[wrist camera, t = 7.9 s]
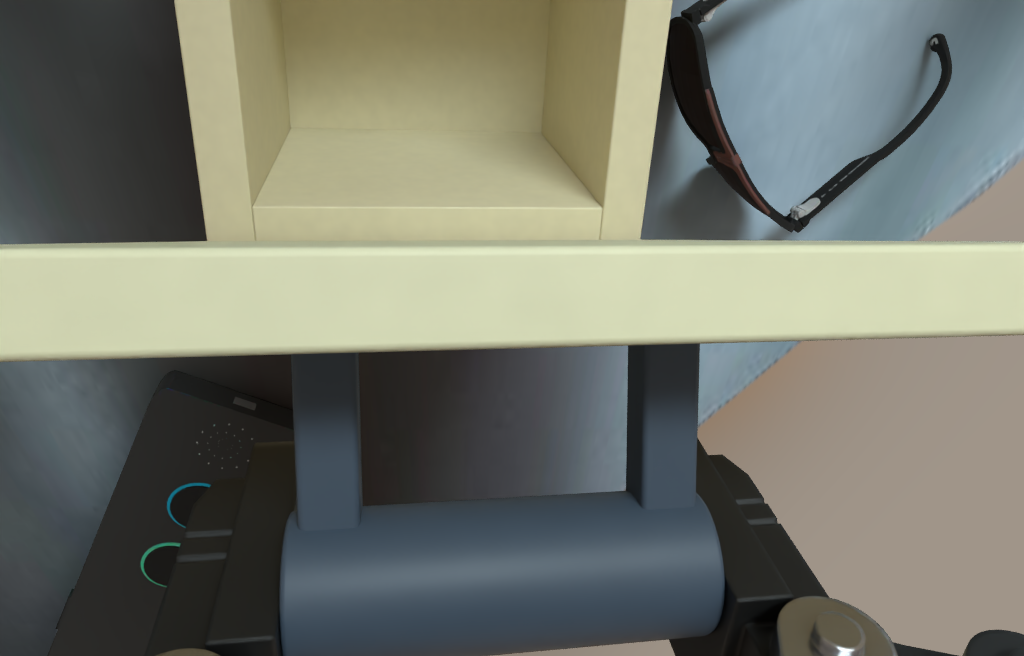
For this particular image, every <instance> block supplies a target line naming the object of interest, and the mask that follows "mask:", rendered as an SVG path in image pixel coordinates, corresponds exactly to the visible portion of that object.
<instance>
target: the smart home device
mask: <svg viewBox="0 0 1024 656" xmlns="http://www.w3.org/2000/svg"><path fill="white" fill-rule="evenodd" d="M284 441H294V422H293V411H292V410H289V409H286V408H283V407H280V406H277V405H275V404H272V403H269V402H266V401H263V400H260V399H257V398H254V397H251V396H248V395H245V394H243V393H240V392H237V391H234V390H231V389H228V388H225V387H222V386H219V385H216V384H213V383H210V382H208V381H205V380H202V379H199V378H196V377H193V376H190V375H187V374H184V373H181V372H178V371H172V372H170V373H168V374H167V375H166V376H165V377H164V378H163V379H162V381H161V382H160V384H159V386H158V388H157V390H156V392H155V394H154V396H153V398H152V400H151V401H150V404H149V406H148V408H147V411H146V413H145V415H144V418H143V420H142V423H141V425H140V428H139V430H138V433H137V435H136V438H135V440H134V443H133V445H132V448H131V450H130V453H129V455H128V458H127V460H126V463H125V465H124V467H123V470H122V472H121V475H120V477H119V480H118V482H117V485H116V487H115V490H114V492H113V495H112V497H111V500H110V502H109V505H108V507H107V510H106V512H105V514H104V517H103V519H102V522H101V524H100V527H99V529H98V532H97V534H96V537H95V539H94V542H93V544H92V547H91V549H90V552H89V554H88V557H87V559H86V562H85V564H84V566H83V569H82V571H81V574H80V576H79V579H78V581H77V584H76V586H75V589H72V590H71V592H70V595H69V597H68V599H67V602H66V604H65V607H64V609H63V612H62V614H61V617H60V619H59V622H58V624H57V627H56V629H58V631H57V633H56V636H55V638H54V641H53V643H52V646H51V648H50V651H49V653H48V656H144V655H145V652H146V649H147V646H148V643H149V640H150V637H151V634H152V631H153V627H154V624H155V621H156V618H157V615H158V612H159V609H160V606H161V603H162V600H163V597H164V593H165V590H166V587H167V584H168V581H169V578H170V575H171V572H172V569H173V566H174V563H176V556H177V553H178V550H179V547H180V544H181V541H182V539H184V532H185V529H186V526H187V522H188V519H189V516H190V513H191V510H192V507H193V504H194V503H195V502H196V501H197V500H198V499H199V498H200V497H201V496H202V495H203V494H204V493H205V491H206V490H207V489H208V488H209V487H210V486H211V485H212V484H213V483H214V482H215V481H216V480H217V479H236V478H246V474H247V470H248V465H249V461H250V457H251V453H252V449H253V446H254V444H255V443H262V442H284Z"/></svg>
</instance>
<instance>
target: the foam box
mask: <svg viewBox="0 0 1024 656" xmlns="http://www.w3.org/2000/svg"><path fill="white" fill-rule="evenodd" d="M672 1H673V0H174V3H175V10H176V18H177V25H178V32H179V39H180V47H181V54H182V61H183V69H184V76H185V83H186V90H187V98H188V105H189V112H190V120H191V127H192V134H193V141H194V149H195V156H196V163H197V171H198V178H199V185H200V192H201V200H202V207H203V214H204V222H205V229H206V236H207V241H420V240H640V237H641V230H642V223H643V215H644V208H645V201H646V193H647V186H648V178H649V171H650V164H651V156H652V149H653V142H654V134H655V127H656V119H657V112H658V105H659V97H660V90H661V83H662V75H663V68H664V60H665V53H666V46H667V38H668V31H669V23H670V16H671V9H672Z"/></svg>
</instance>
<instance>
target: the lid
mask: <svg viewBox="0 0 1024 656" xmlns="http://www.w3.org/2000/svg"><path fill="white" fill-rule="evenodd" d="M1004 335H1024V242H963V241H955V242H954V241H950V242H949V241H946V242H945V241H944V242H943V241H782V240H420V241H190V242H127V243H64V244H0V362H13V361H52V360H90V359H128V358H166V357H204V356H242V355H281V354H291V370H292V396H293V422H294V448H295V475H296V501H297V510H295V511H293V512H291V513H290V515H289V517H288V520H287V523H286V526H285V531H284V536H283V543H282V552H281V563H280V581H279V625H280V640H281V650H282V656H490V655H501V654H512V653H523V652H534V651H546V650H555V649H568V648H578V647H588V646H589V647H590V646H600V645H612V644H623V643H634V642H645V641H656V640H666V639H678V638H689V637H700V636H706V635H708V634H710V633H711V632H713V631H714V630H715V628H716V627H717V625H718V623H719V621H720V618H721V615H722V610H723V604H724V592H725V580H724V566H723V558H722V552H721V547H720V542H719V538H718V534H717V531H716V528H715V524H714V522H713V519H712V517H711V514H710V512H709V510H708V508H707V506H706V504H705V503H704V501H703V500H702V498H701V497H700V496H699V495H698V494H697V493H696V463H697V426H698V388H699V351H700V343H738V342H777V341H815V340H853V339H889V338H926V337H927V338H928V337H967V336H1004ZM624 345H628V403H627V468H626V491H616V492H599V493H581V494H564V495H547V496H529V497H512V498H494V499H477V500H460V501H442V502H425V503H408V504H390V505H373V506H363V502H362V465H361V428H360V392H359V355H358V352H395V351H433V350H471V349H509V348H548V347H586V346H624Z"/></svg>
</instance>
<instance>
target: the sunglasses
mask: <svg viewBox="0 0 1024 656" xmlns="http://www.w3.org/2000/svg"><path fill="white" fill-rule="evenodd" d="M725 1H727V0H699V1H698V2H696V3H695V4H693V5H692V6H691V7H689V8H688V9H686V10H683V11H682V12H681V16H682V17H675V18H673V19H671V20H670V23H669V31H668V38H667V46H666V55H667V65H668V71H669V76H670V81H671V85H672V89H673V92H674V96H675V99H676V102H677V104H678V107H679V109H680V111H681V114H682V116H683V117H684V119H685V121H686V123H687V125H688V126H689V128H690V129H691V130H692V132H693V133H694V134H695V136H696V137H697V138H698V139H699V140H700V141H701V142H702V143H703V144H704V145H705V147H706V148H707V150H708V152H709V154H710V157H708V158H707V159H706V161H707V162H708V164H710V165H712V166H713V167H714V168H715V169H716V170H717V171H718V173H719V174H720V175H721V176H722V177H723V178H724V180H725V181H726V182H727V183H728V184H729V185H730V186H731V187H732V188H733V189H734V190H735V191H736V192H737V193H738V194H739V195H740V196H741V197H743V198H744V199H745V200H746V201H747V202H748V203H749V204H751V205H752V206H753V207H755V208H756V209H757V210H759V211H761V212H762V213H764V214H765V215H767V216H768V217H770V218H771V219H772V220H774V221H775V222H776V223H777V224H779V225H780V226H781V227H783V228H785V229H786V230H788V231H790V232H793V230H795V231H796V232H800V231H801V230H802V229H804V228H803V227H806V226H807V225H808V223H809V221H810V219H811V218H813V217H814V216H815V215H816V214H817V213H819V212H820V211H821V210H822V209H823V208H824V207H826V206H827V205H828V204H829V203H830V202H831V201H833V200H834V199H835V198H836V197H837V196H839V195H840V194H841V193H842V192H843V191H844V190H846V189H847V188H848V187H849V186H850V185H852V184H853V183H854V182H855V181H856V180H857V179H859V178H860V177H861V176H862V175H863V174H864V173H866V172H867V171H868V170H869V169H870V168H872V167H873V166H874V165H875V164H876V163H877V162H879V161H880V160H882V159H884V158H885V157H887V156H888V155H889V154H891V153H892V152H893V151H894V150H895V149H897V148H898V147H899V146H900V145H901V144H902V143H904V142H905V141H906V140H907V139H908V138H909V137H910V136H911V135H912V134H913V133H914V132H915V131H916V130H917V128H918V127H919V126H920V125H921V124H922V123H923V122H924V121H925V119H926V118H927V117H928V116H929V114H930V113H931V112H932V111H933V109H934V108H935V106H936V105H937V104H938V102H939V101H940V99H941V98H942V96H943V94H944V93H945V91H946V89H947V87H948V84H949V82H950V79H951V74H952V63H951V57H950V52H949V48H948V45H947V41H946V38H945V36H944V35H943V34H935V35H933V36H932V37H931V38H930V40H929V43H930V48H931V50H932V51H934V52H937V54H938V55H939V58H940V62H941V68H942V73H941V78H940V81H939V84H938V86H937V88H936V90H935V91H934V93H933V94H932V96H931V97H930V99H929V100H928V102H927V103H926V104H925V106H924V107H923V108H922V109H921V111H920V112H919V113H918V114H917V116H916V117H915V118H914V119H913V120H912V121H911V122H910V123H909V124H908V125H907V126H906V128H905V129H904V130H902V131H901V132H900V133H899V134H898V135H897V136H896V137H895V138H894V139H893V140H891V141H890V142H889V143H888V144H887V145H885V146H884V147H883V148H882V149H880V150H878V151H877V152H875V153H873V154H870V155H867V156H865V157H862V158H859V159H857V160H854V161H852V162H851V163H849V164H848V165H847V166H846V167H844V168H843V169H842V170H841V171H840V172H838V173H837V174H836V175H835V176H834V177H833V178H831V179H830V180H829V181H828V182H827V183H825V184H824V185H823V186H822V187H821V188H820V189H818V190H817V191H816V192H815V193H814V194H812V195H811V196H810V197H809V198H808V199H806V200H805V201H804V202H803V203H802V204H801V205H799V206H796V207H795V206H794V207H792V208H791V210H790V212H791V213H790V214H789V215H788V216H783V215H782V214H780V213H779V212H778V211H776V210H775V209H774V208H773V207H771V206H770V205H769V204H768V203H767V202H766V200H765V199H764V198H763V197H762V195H761V194H760V193H759V192H758V190H757V189H756V187H755V186H754V184H753V183H752V181H751V179H750V177H749V175H748V174H747V172H746V170H745V168H744V166H743V164H742V161H741V159H740V157H739V155H738V153H737V152H736V150H735V148H734V146H733V144H732V142H731V140H730V138H729V135H728V133H727V131H726V128H725V126H724V123H723V121H722V118H721V114H720V111H719V108H718V105H717V101H716V97H715V94H714V91H713V88H712V86H711V81H710V76H709V70H708V64H707V58H706V51H705V45H704V40H703V36H702V33H701V31H700V29H699V27H698V24H699V23H701V22H705V21H706V22H708V21H710V20H711V19H712V15H713V14H714V12H715V10H716V9H717V8H718V7H719V6H720V5H721V4H722V3H724V2H725Z"/></svg>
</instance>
